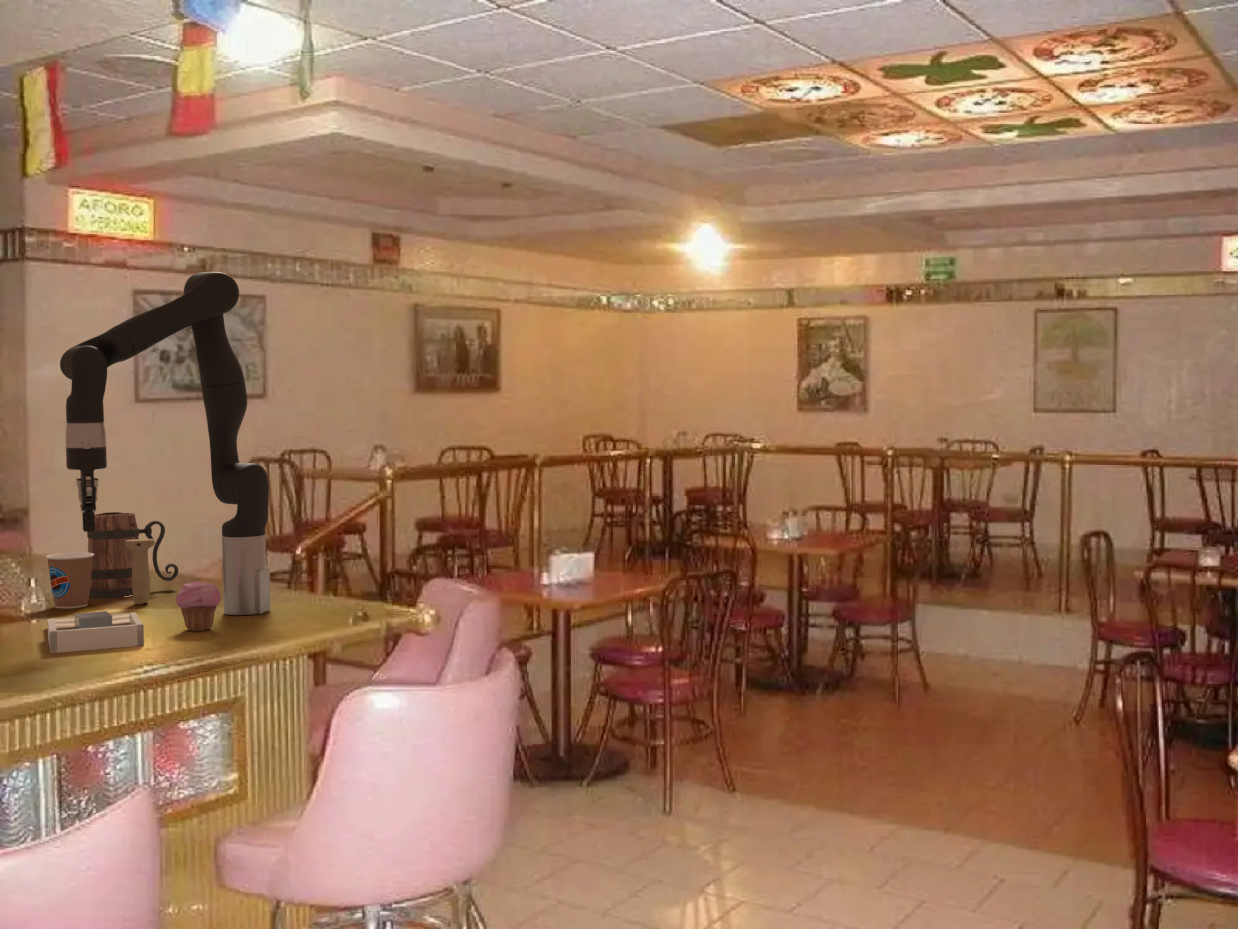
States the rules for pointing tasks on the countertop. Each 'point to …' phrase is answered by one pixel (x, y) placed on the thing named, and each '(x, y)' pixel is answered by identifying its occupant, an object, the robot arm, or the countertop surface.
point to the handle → (140, 568)
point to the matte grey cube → (92, 620)
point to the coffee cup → (70, 579)
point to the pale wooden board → (69, 622)
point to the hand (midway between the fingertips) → (89, 531)
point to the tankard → (118, 554)
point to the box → (96, 637)
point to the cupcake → (198, 604)
